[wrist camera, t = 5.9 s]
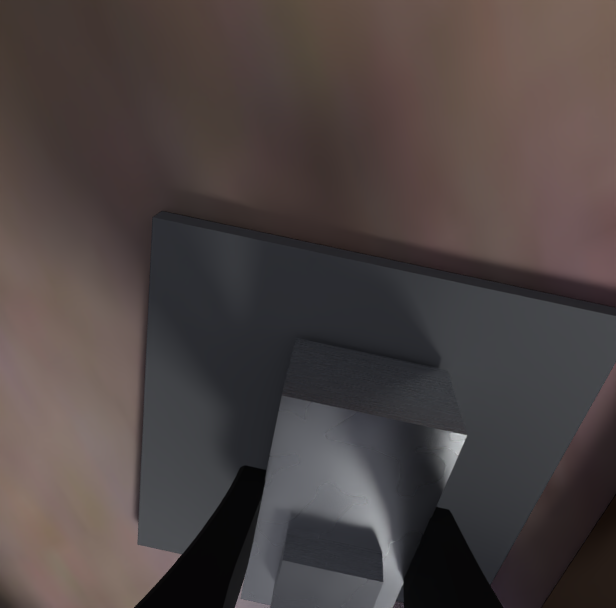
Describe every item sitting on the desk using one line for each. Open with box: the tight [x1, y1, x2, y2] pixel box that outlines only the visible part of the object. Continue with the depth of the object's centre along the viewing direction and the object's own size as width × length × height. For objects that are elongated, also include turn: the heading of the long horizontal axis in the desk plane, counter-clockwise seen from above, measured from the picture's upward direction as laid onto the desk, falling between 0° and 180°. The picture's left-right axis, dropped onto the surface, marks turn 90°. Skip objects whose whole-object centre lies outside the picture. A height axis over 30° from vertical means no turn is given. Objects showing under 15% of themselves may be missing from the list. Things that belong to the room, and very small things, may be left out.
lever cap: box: [241, 338, 467, 608], centre depth 12 cm, size 7×4×3 cm, turn 169°
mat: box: [138, 211, 616, 603], centre depth 15 cm, size 12×12×1 cm
